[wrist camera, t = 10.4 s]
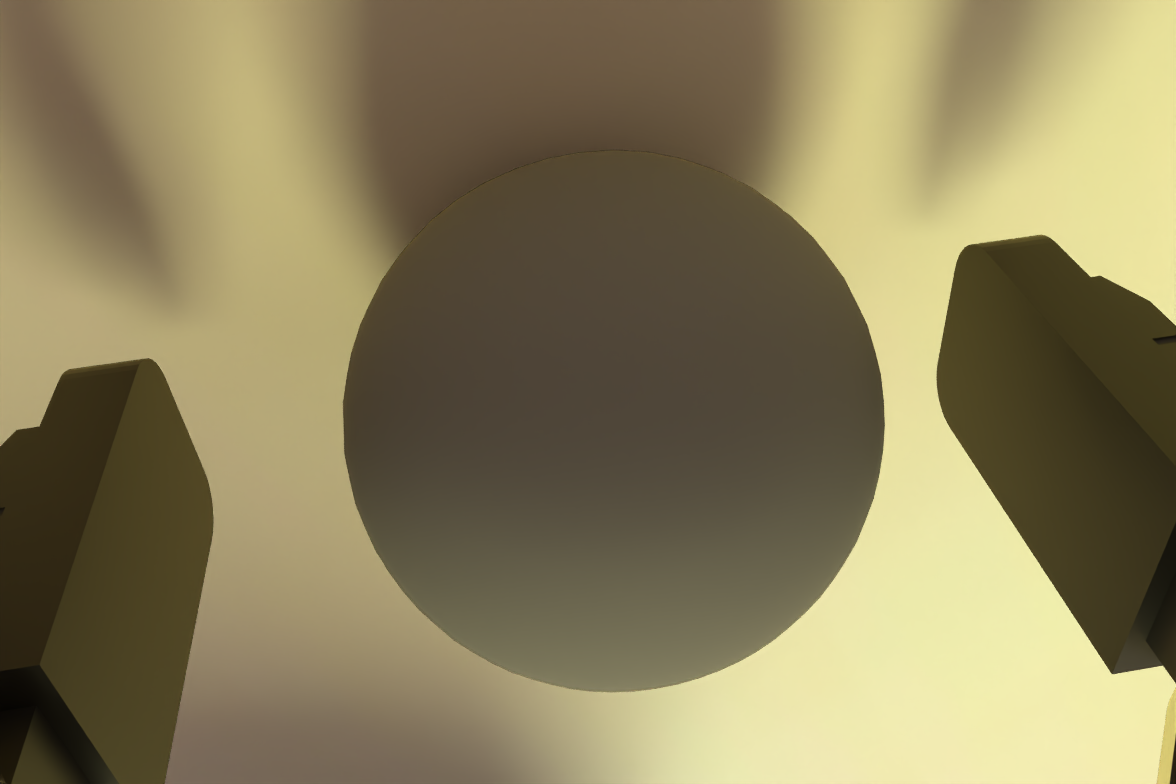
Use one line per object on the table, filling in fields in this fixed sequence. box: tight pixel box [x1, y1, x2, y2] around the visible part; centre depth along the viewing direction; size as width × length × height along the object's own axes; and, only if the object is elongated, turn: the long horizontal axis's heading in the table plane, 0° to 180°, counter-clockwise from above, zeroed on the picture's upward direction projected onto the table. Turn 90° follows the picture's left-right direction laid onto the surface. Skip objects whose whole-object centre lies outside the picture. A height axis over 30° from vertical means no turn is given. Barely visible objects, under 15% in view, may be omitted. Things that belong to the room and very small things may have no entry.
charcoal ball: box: [343, 150, 885, 692], centre depth 10 cm, size 5×5×5 cm
